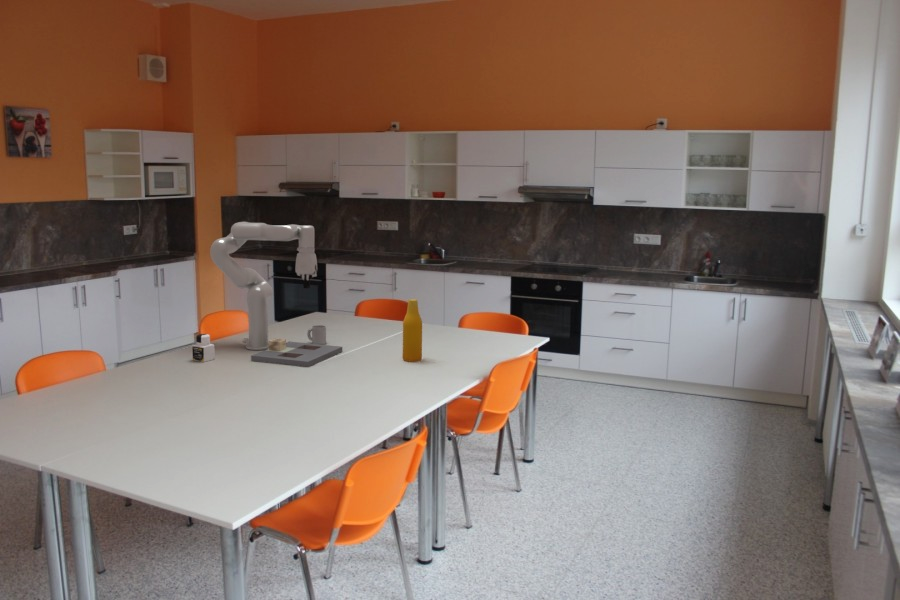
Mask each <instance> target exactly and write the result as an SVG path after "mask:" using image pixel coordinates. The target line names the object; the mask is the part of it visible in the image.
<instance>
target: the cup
mask: <svg viewBox="0 0 900 600" xmlns="http://www.w3.org/2000/svg"><path fill="white" fill-rule="evenodd" d="M306 335H307V338H308V340H309V341H311V342H312V343H311V344H320V345H327V344H326V343H327V326H326V325H323V324H322V325H321V324H319V325H318V324H317V325H312V326H311V327H310V328H309V329H308V330H307V333H306Z"/></svg>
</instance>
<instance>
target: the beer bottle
mask: <svg viewBox="0 0 900 600" xmlns="http://www.w3.org/2000/svg"><path fill="white" fill-rule="evenodd" d="M418 304H419V302H418V299H415V298H411V299H408V302H407V308H406V309H407V310H406V314H405V316H404V317H403V318H404V319H403V322H402V360H403V361H404V362H407V363H417V362H422V361H421V360H422V359H423V321H422V318H421V315H420V313H419V312H420V311H419V305H418Z"/></svg>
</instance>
